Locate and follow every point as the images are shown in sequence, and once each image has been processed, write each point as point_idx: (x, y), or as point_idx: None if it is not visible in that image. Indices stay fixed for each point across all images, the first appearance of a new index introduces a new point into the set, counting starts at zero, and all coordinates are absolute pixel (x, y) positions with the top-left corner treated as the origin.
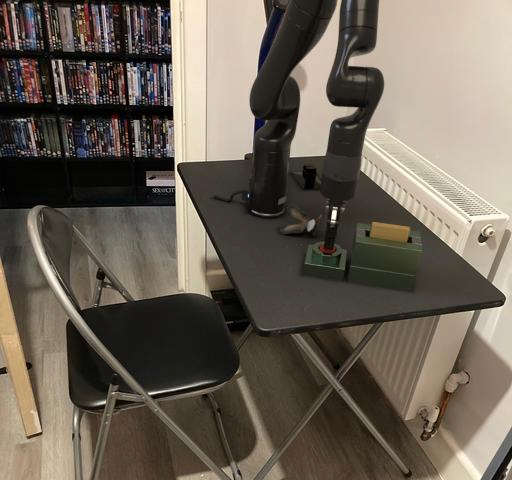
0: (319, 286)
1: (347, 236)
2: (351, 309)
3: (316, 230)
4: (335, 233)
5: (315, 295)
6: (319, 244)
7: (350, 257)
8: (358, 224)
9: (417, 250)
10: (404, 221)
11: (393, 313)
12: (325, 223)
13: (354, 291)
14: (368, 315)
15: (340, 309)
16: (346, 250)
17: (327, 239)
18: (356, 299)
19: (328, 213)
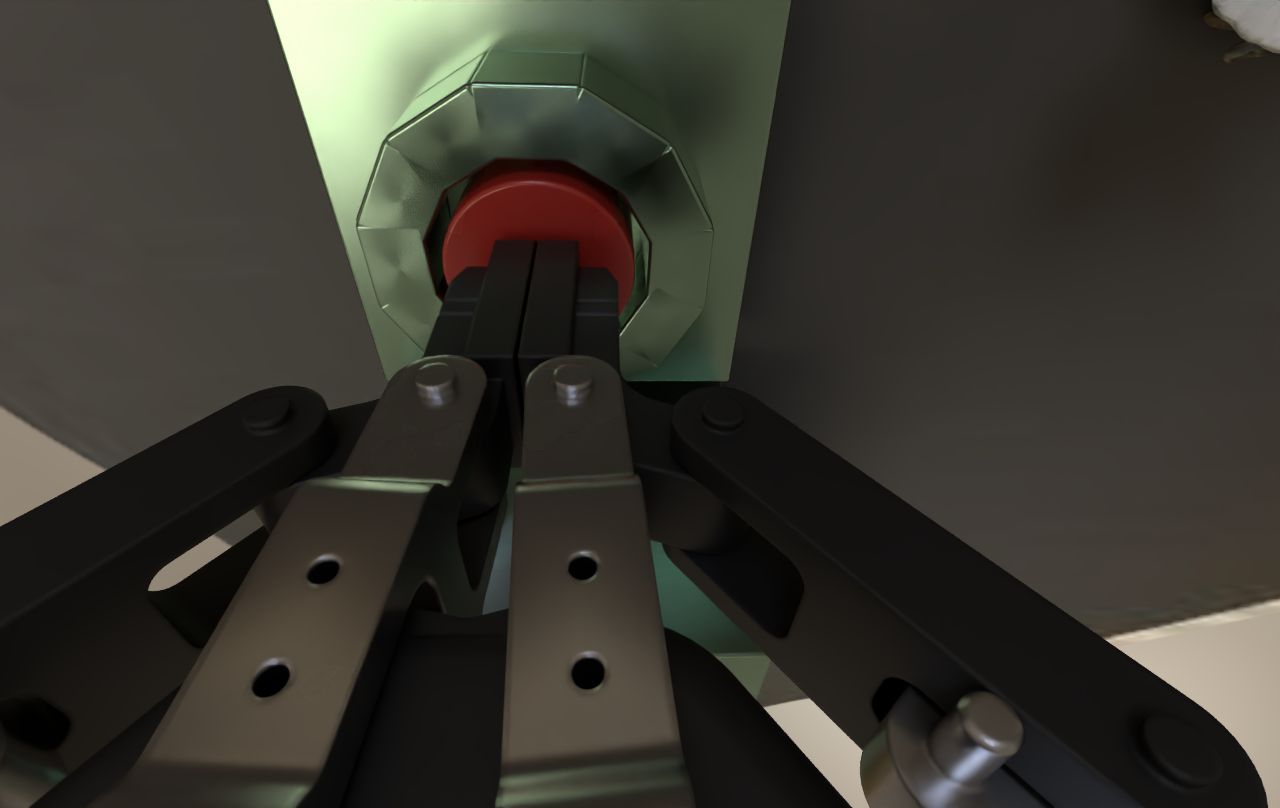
0: (213, 144)
1: (1122, 321)
2: (82, 377)
3: (1227, 57)
4: (219, 567)
5: (33, 118)
6: (609, 170)
7: (650, 393)
8: (733, 665)
9: None
10: (1224, 575)
11: (227, 541)
12: (306, 501)
13: (319, 386)
14: (103, 454)
15: (14, 317)
16: (718, 379)
17: (433, 345)
18: (228, 398)
19: (350, 725)
